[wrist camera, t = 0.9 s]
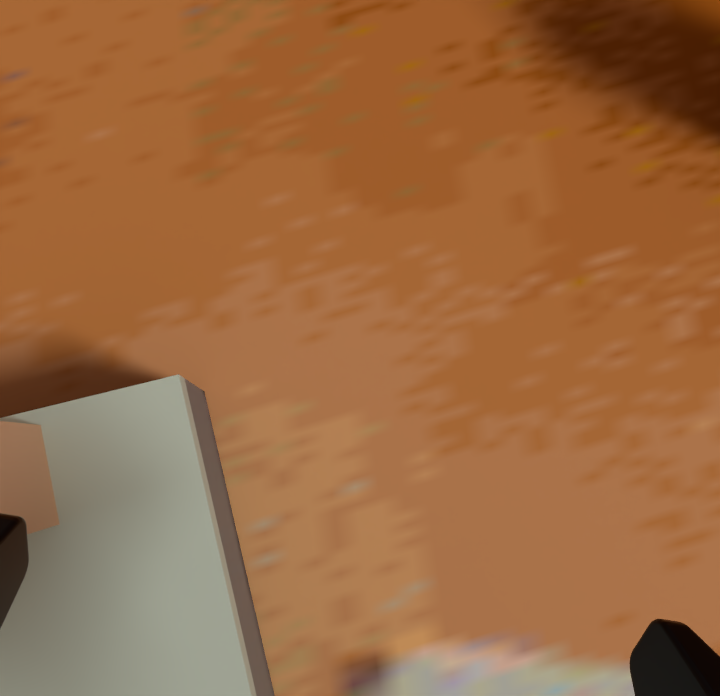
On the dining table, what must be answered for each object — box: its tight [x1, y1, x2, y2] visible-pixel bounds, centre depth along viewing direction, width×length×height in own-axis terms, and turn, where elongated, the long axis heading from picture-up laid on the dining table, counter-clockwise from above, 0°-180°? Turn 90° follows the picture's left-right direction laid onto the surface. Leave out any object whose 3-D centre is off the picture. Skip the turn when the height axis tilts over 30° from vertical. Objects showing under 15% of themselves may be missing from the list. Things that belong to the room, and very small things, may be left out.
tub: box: [184, 378, 274, 696], centre depth 20 cm, size 14×12×4 cm
